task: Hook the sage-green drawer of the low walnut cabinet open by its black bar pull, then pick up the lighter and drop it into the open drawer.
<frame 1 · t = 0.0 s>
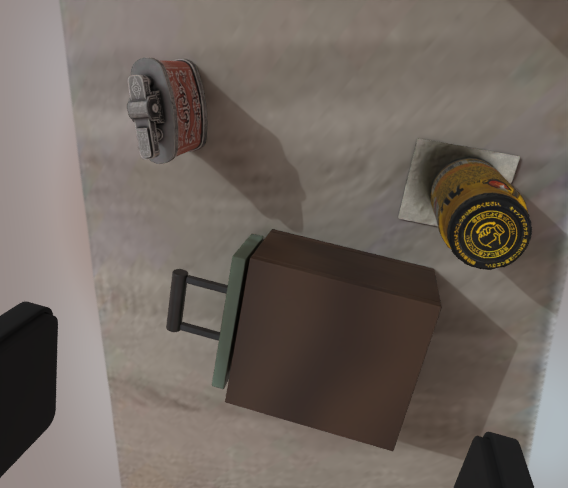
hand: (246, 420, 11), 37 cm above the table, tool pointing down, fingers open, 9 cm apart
lighter: (189, 105, 47), on the table
condiment: (455, 187, 44), on the table
cabinet: (334, 315, 51), on the table
drawer: (276, 320, 47), point 4 cm above the table, slide at 0.5 cm
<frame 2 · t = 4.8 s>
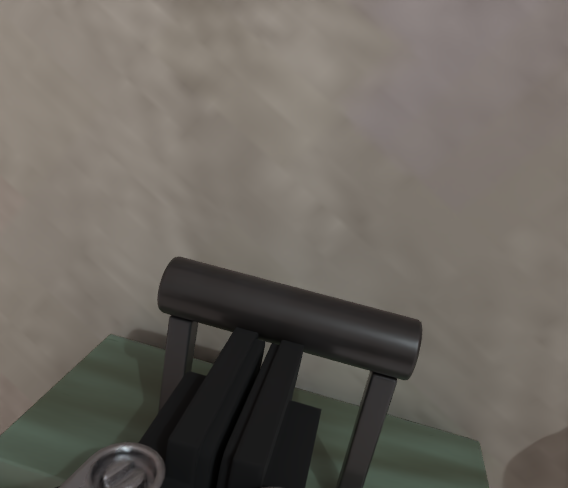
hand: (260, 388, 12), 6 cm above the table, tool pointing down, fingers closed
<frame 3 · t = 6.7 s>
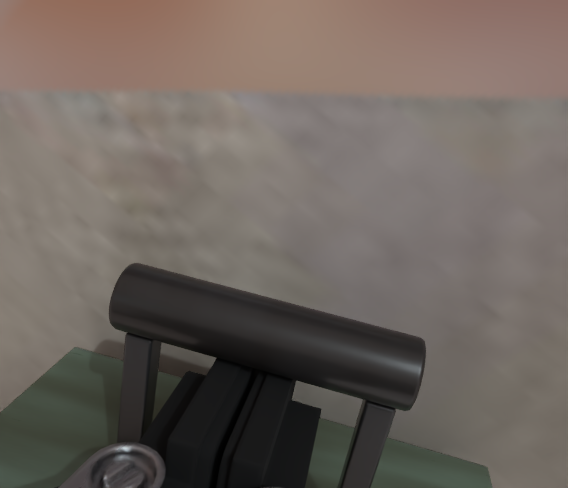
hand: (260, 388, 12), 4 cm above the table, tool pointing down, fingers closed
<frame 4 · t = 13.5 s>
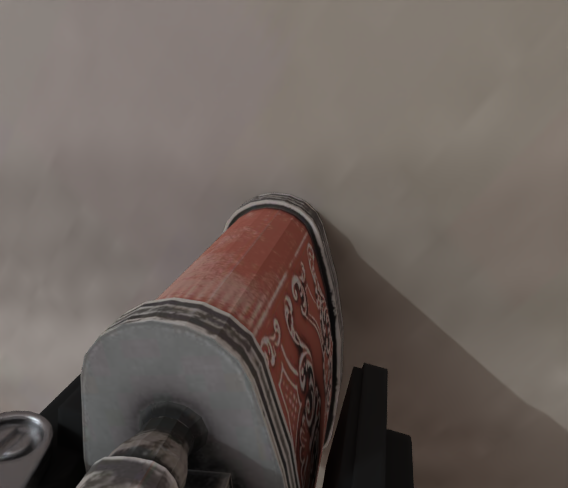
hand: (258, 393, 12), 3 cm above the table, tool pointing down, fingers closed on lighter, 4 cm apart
lighter: (287, 323, 15), on the table, touching gripper
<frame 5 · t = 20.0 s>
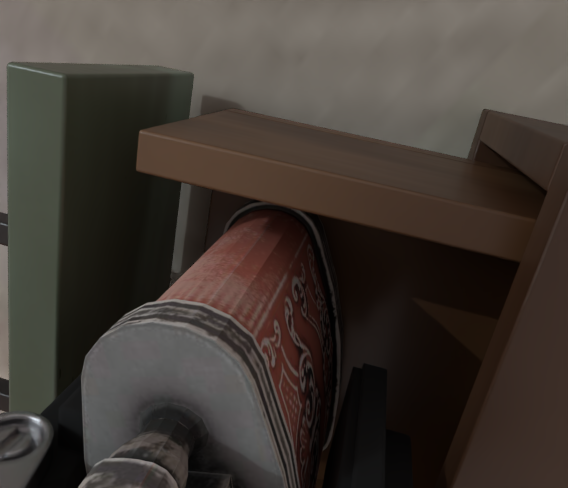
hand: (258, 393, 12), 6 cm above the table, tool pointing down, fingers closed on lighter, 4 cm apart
lighter: (287, 324, 15), point 2 cm above the table, touching gripper
drawer: (235, 354, 14), point 4 cm above the table, slide at 8.2 cm
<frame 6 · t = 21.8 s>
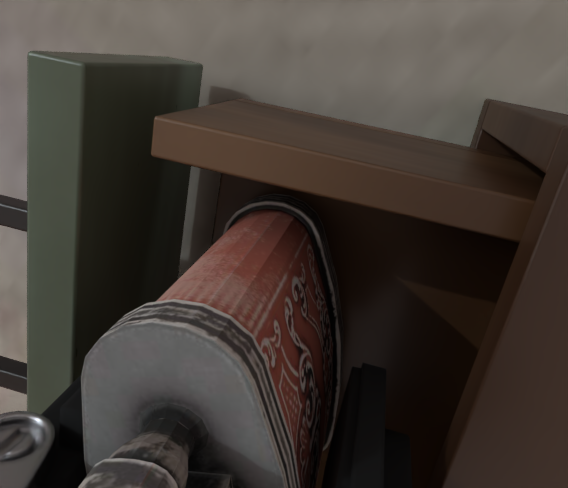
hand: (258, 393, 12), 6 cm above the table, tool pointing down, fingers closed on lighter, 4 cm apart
lighter: (287, 324, 15), point 3 cm above the table, touching gripper
drawer: (243, 337, 14), point 4 cm above the table, slide at 8.2 cm
when the fingers open (8 cm above the table, at t = 30.1 s): lighter drops 2 cm, resting on drawer.
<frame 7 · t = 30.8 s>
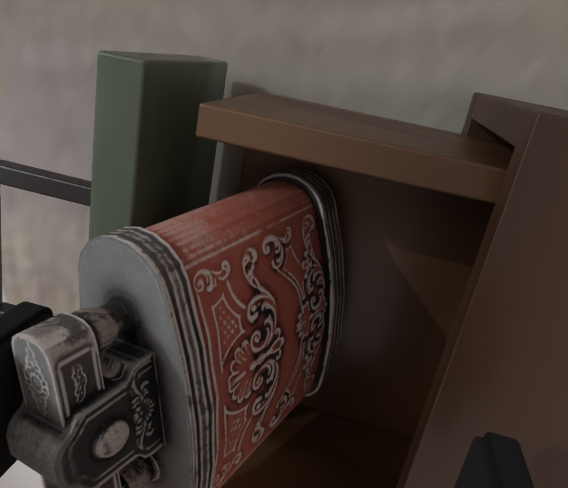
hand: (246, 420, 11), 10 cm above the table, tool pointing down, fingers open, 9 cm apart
lighter: (303, 281, 18), point 2 cm above the table, touching drawer, gripper
drawer: (263, 297, 16), point 4 cm above the table, slide at 8.2 cm, touching lighter
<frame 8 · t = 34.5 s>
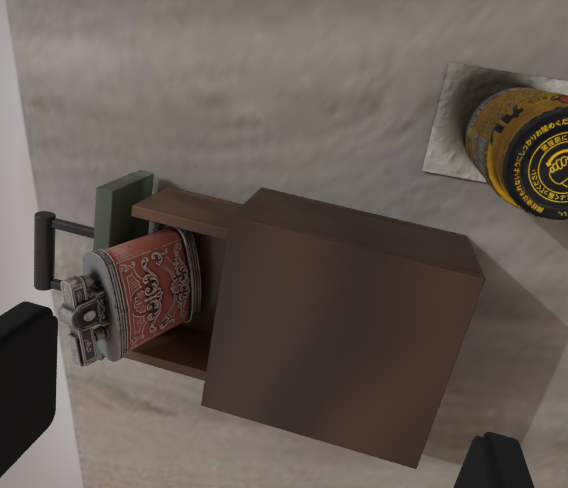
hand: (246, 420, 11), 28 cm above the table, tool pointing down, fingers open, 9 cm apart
lighter: (187, 270, 40), point 3 cm above the table, touching drawer
condiment: (497, 128, 34), on the table
cabinet: (339, 296, 41), on the table
drawer: (167, 276, 38), point 4 cm above the table, slide at 8.3 cm, touching lighter
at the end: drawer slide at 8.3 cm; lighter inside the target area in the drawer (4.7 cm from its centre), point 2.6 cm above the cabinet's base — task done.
